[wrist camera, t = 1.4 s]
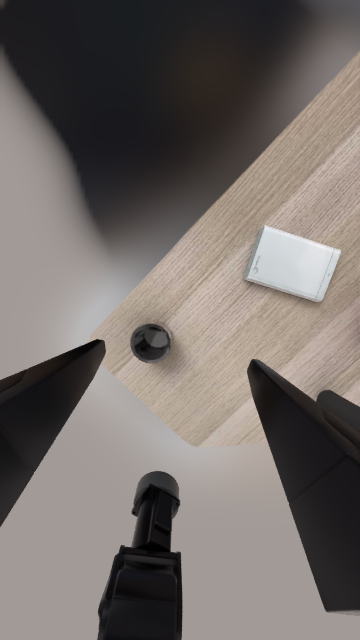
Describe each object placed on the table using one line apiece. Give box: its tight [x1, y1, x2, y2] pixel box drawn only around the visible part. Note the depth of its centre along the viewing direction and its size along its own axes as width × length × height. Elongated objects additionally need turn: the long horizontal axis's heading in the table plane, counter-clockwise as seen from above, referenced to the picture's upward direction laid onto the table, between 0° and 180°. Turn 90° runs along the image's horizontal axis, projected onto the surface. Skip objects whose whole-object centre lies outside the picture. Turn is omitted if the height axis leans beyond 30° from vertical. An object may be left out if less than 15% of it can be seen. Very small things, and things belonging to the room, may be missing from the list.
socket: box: [131, 321, 172, 363], centre depth 24 cm, size 6×6×4 cm
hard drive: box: [244, 225, 341, 302], centre depth 24 cm, size 2×8×12 cm
